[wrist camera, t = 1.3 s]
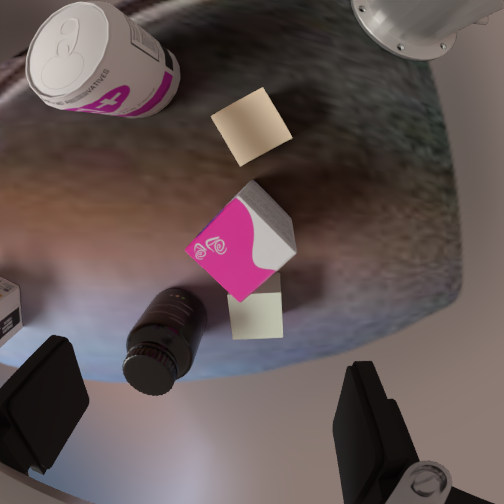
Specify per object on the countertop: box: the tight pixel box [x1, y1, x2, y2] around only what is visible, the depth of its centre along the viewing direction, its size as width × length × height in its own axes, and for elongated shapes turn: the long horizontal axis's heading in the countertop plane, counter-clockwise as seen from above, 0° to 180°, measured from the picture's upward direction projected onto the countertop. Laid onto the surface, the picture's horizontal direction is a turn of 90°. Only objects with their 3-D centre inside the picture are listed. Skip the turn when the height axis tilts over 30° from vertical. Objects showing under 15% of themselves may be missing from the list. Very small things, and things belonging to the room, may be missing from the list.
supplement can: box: [26, 1, 180, 118], centre depth 22 cm, size 8×8×15 cm
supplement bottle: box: [123, 289, 207, 396], centre depth 31 cm, size 7×7×12 cm
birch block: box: [211, 87, 293, 166], centre depth 28 cm, size 5×5×5 cm
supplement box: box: [185, 180, 297, 302], centre depth 28 cm, size 6×6×12 cm
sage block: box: [227, 273, 283, 339], centre depth 33 cm, size 5×5×5 cm
